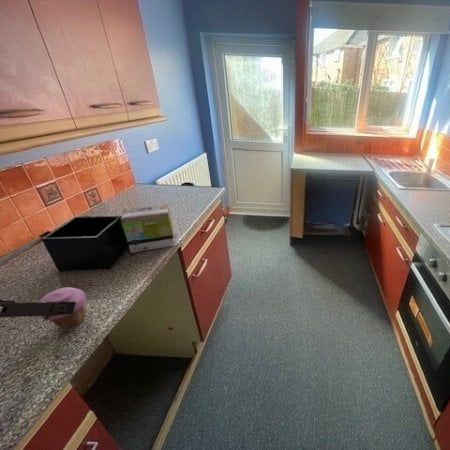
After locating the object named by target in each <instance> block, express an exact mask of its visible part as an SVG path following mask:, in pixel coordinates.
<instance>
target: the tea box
mask: <svg viewBox="0 0 450 450" xmlns="http://www.w3.org/2000/svg"><path fill="white" fill-rule="evenodd" d="M121 216H122V217H121V223H122V226H123V229H124V232H125V236H126V239H127V242H128V245H129V248H128V249H129V251H130V253H131V254H133V253H138V252H145V251H150V250H151V251H152V250H157V249H163V248H164V249H165V248H170V247H175V245H176V244H175V231H174V226H173V221H172V216H171V211H170V206H169V203H160V204H150V205H142V206H141V205H140V206H131V207H124V208H123V211H122V214H121Z"/></svg>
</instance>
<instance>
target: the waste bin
mask: <svg viewBox="0 0 450 450" xmlns="http://www.w3.org/2000/svg"><path fill="white" fill-rule="evenodd" d="M121 217H122V215H79V216H73V217H72V218H70V219H69V220H68V221H66V222H65V223H63V224H62V225H60V226H58V227H57V228H56V229H54V230H53V231H51V232H49V233H48V234H46V235H45V236H43V237H42V238H41V241H42V244H43V245H44V247H45V249H46V251H47V253H48V255H49V256H50V259H51V260H52V263H53V264H54V266H55V268H56V270H57V272H79V271H80V272H81V271H103V270H104V271H105V270H111V269H112V267H113V266H114V265H115V264H116V263H117V262H118V261H119V260H120V258H122V257H123V255H124V254H125V253H126V252H127V251H128V249H130V248H129V245H128V242H127V239H126V236H125V232H124V229H123V226H122V223H121Z"/></svg>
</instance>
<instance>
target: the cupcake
mask: <svg viewBox="0 0 450 450" xmlns="http://www.w3.org/2000/svg"><path fill="white" fill-rule="evenodd" d="M86 297H87V296H86V293H85V291H84V290H82V289H80V288H76V287H69V286H68V287H67V286H66V287H60V288H57V289H55V290H53V291H51V292H48V293H47V294H45V295H44V296H43V297H42V298H41V299H40V300H39V302H38V303H46V302H76V304H75V308H74V311H73V314H66V315H55V316H50V317H49V319H44V318H45V316H40V318H42V319H43V320H45V321H50V322H52V324H55V325H56V326H58V327H59V328H61V329H66V328H70V327H76V326H80V324H82V322H83V320H84V316H85V315H86V312H87V311H86V307H85V302H86Z"/></svg>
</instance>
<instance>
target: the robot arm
mask: <svg viewBox="0 0 450 450" xmlns="http://www.w3.org/2000/svg"><path fill="white" fill-rule="evenodd" d="M75 304H76V302H46V303H39V302H27V301H26V302H25V301H24V302H23V301H22V302H18V301H17V302H16V300H3V299H0V318H20V317H21V318H23V317H41V316H45V318H44V319H43V320H45V319H49V317H50V316H55V315H66V314H73V311H74V308H75Z"/></svg>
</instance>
